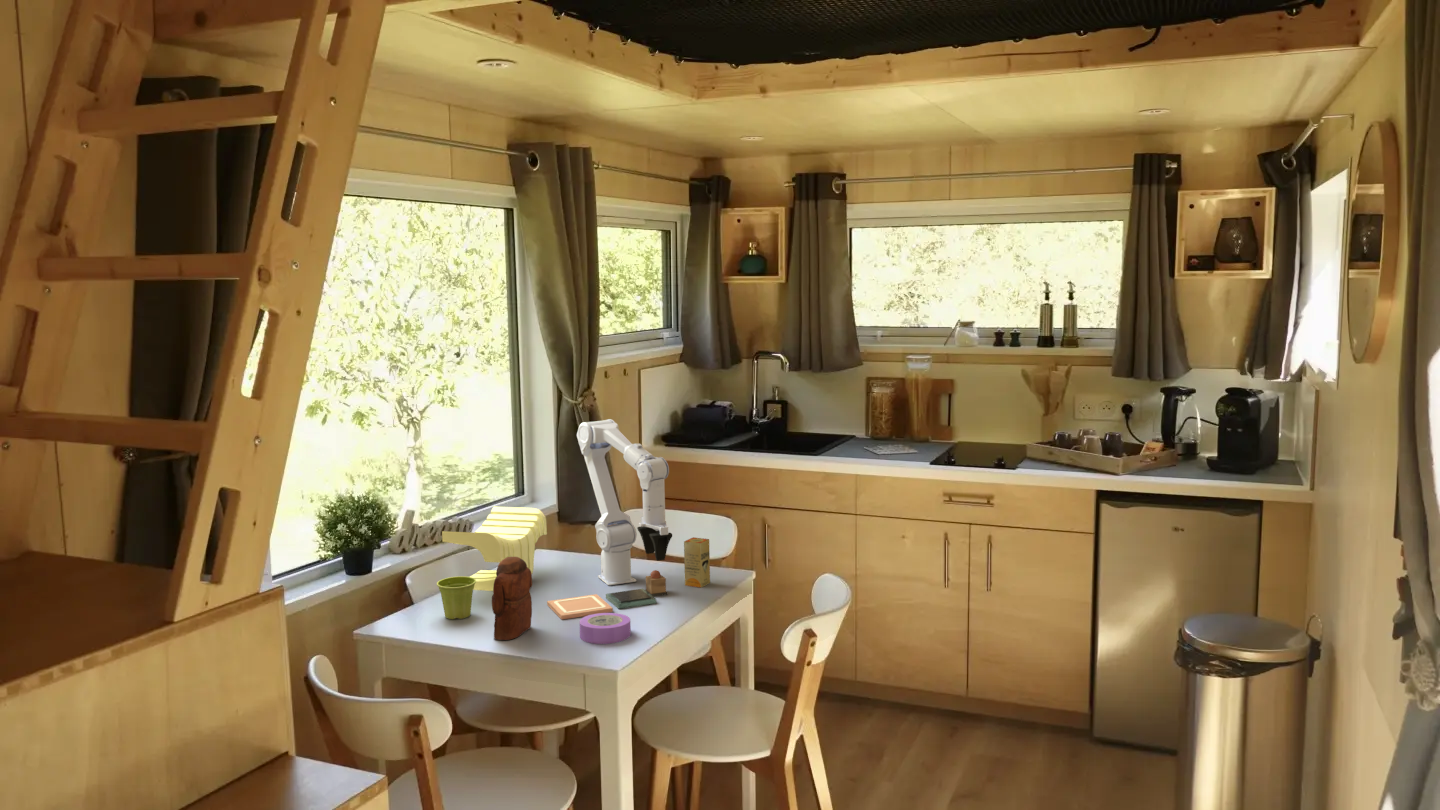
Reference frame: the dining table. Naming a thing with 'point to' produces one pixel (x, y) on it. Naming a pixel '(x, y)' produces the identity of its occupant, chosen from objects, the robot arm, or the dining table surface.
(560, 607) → the marked board
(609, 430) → the robot arm
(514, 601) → the wooden figurine
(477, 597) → the dining table surface
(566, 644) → the dining table surface
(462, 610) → the plant pot
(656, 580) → the walnut stamp
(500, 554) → the slatted curved stool
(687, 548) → the shoe polish box
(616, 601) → the ink pad
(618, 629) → the masking tape
